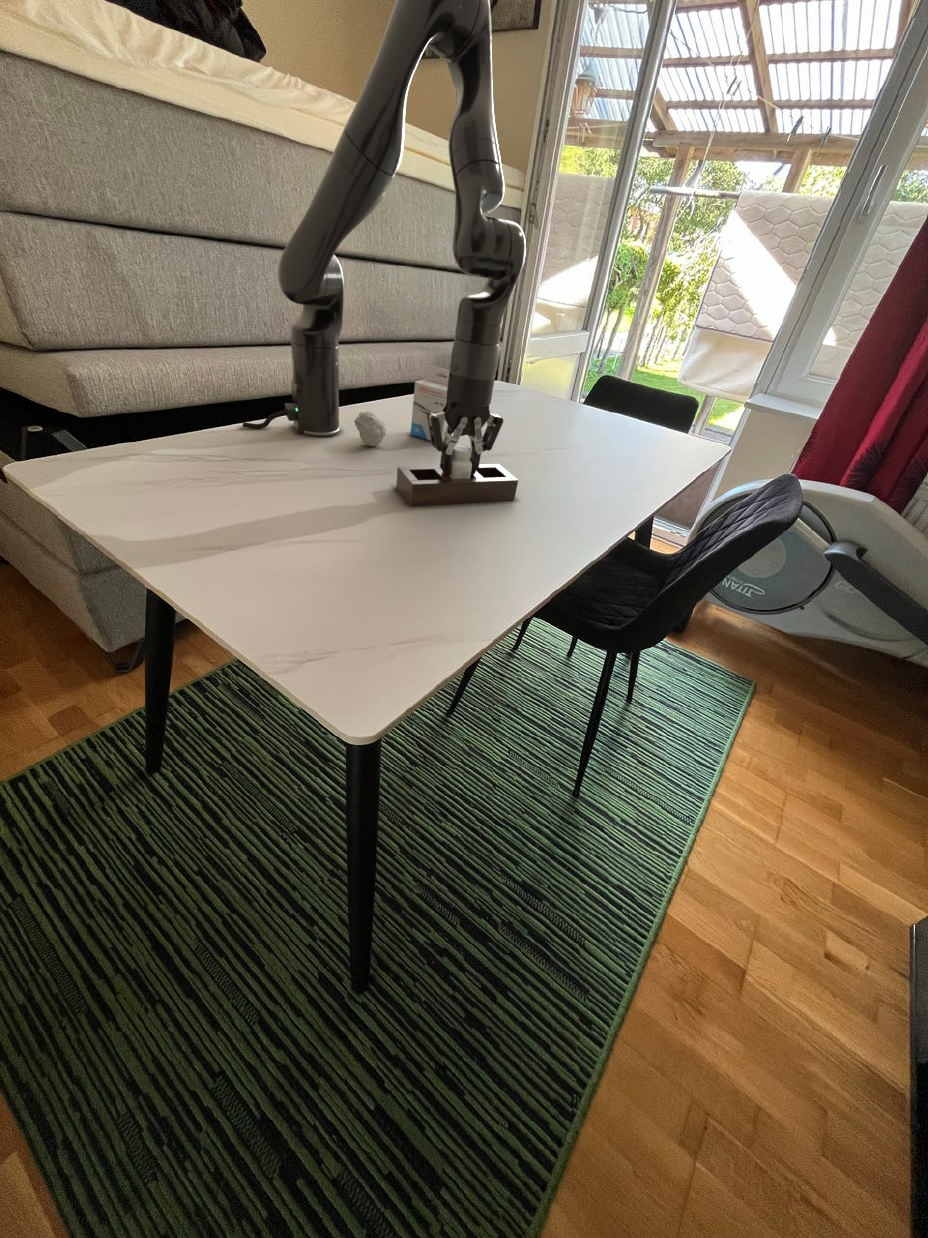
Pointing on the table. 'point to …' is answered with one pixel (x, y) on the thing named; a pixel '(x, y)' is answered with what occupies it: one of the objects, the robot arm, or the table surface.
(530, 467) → the table surface
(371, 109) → the robot arm
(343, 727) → the table surface
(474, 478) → the holder
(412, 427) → the ink box
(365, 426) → the white lumpy lump
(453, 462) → the pill bottle
